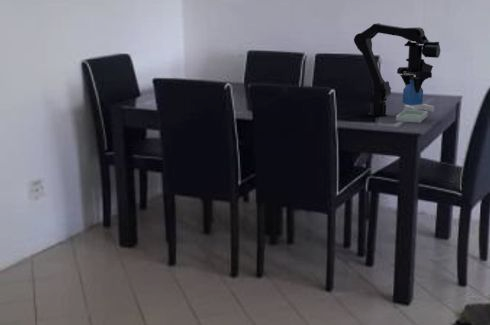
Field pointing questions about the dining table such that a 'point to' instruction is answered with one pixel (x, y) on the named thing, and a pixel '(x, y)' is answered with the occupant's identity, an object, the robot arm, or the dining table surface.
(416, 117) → the tray
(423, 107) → the bay
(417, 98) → the perfume bottle
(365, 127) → the dining table surface
